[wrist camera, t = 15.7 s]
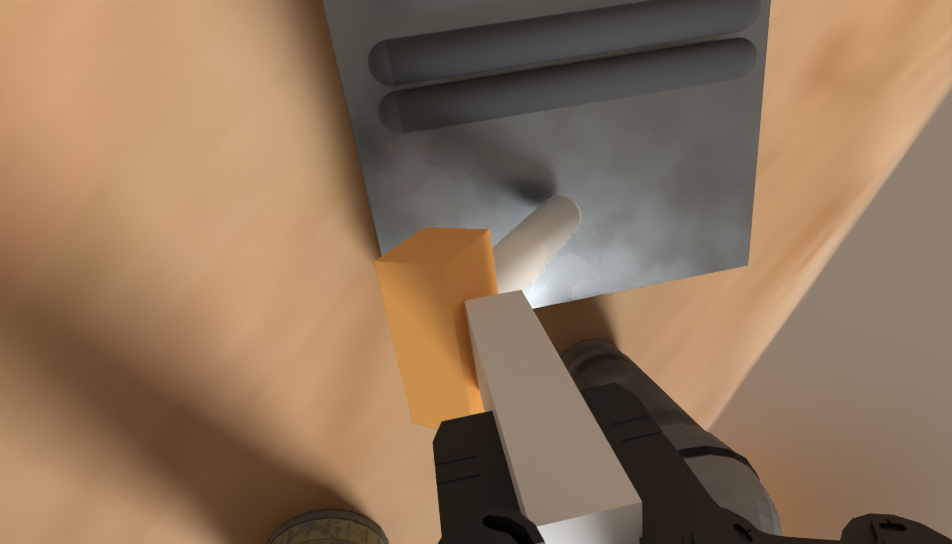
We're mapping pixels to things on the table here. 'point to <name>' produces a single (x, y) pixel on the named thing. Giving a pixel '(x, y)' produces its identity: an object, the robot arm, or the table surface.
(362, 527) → the thermos
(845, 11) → the table surface
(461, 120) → the cord bundle
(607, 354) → the beverage cup
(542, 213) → the orange mallet
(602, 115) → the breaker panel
